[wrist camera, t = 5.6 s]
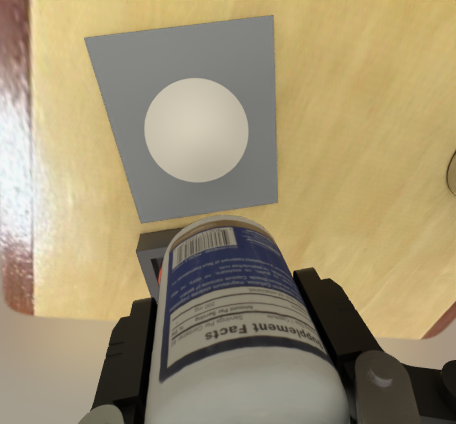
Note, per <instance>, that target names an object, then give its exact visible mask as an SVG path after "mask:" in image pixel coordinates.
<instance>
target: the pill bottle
mask: <svg viewBox="0 0 456 424" xmlns="http://www.w3.org/2000/svg"><path fill="white" fill-rule="evenodd" d="M349 423H350V407H349V401H348V398H347V395H346V392H345V389H344V387H343V384H342V382H341V379H340V377H339V374H338V371H337V369H336V367H335V366H334V364H333V362H332V360H331V358H330V356H329V353H328V351H327V349H326V347H325V346H324V344H323V342H322V339H321V337H320V335H319V333H318V331H317V329H316V326H315V324H314V322H313V320H312V318H311V316H310V314H309V311H308V309H307V307H306V305H305V303H304V300H303V298H302V296H301V294H300V292H299V290H298V287H297V285H296V283H295V281H294V279H293V277H292V275H291V273H290V271H289V269H288V266H287V264H286V262H285V260H284V258H283V256H282V254H281V252H280V250H279V248H278V246H277V244H276V242H275V241H274V239H273V237H272V236H271V235H270V233H269V232H268V231H267V230H266V229H265V228H264V227H262V226H261V225H260V224H258V223H256V222H254V221H253V220H250V219H247V218H244V217H240V216H233V215H216V216H211V217H206V218H203V219H200V220H198V221H196V222H194V223H192V224H190V225H188V226H187V227H185V228H183V229H182V230H181V231H180V232H179V233H178V234H176V236H175V237H174V238H173V239H172V241H171V243H170V244H169V246H168V248H167V250H166V253H165V255H164V260H163V265H162V272H161V278H160V288H159V295H158V305H157V314H156V323H155V332H154V340H153V350H152V357H151V366H150V374H149V385H148V391H147V398H146V409H145V422H144V424H349Z"/></svg>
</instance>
